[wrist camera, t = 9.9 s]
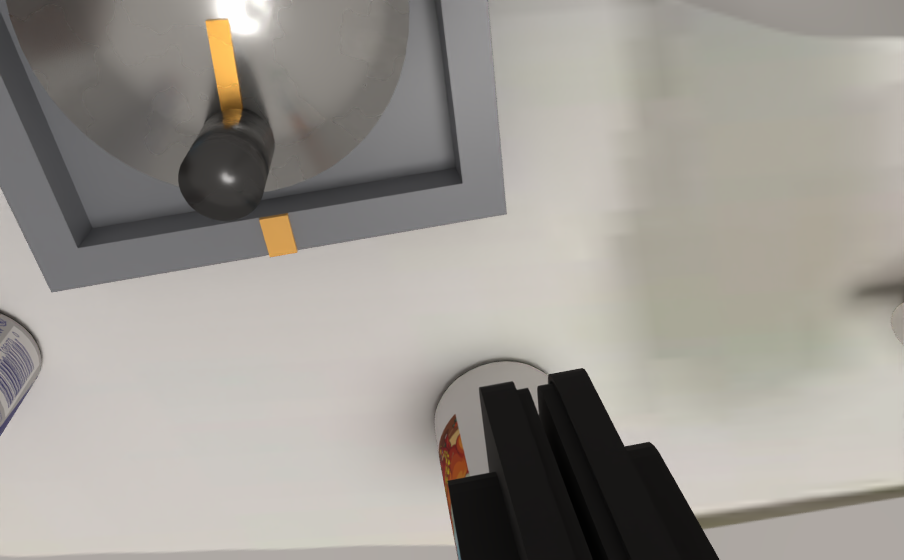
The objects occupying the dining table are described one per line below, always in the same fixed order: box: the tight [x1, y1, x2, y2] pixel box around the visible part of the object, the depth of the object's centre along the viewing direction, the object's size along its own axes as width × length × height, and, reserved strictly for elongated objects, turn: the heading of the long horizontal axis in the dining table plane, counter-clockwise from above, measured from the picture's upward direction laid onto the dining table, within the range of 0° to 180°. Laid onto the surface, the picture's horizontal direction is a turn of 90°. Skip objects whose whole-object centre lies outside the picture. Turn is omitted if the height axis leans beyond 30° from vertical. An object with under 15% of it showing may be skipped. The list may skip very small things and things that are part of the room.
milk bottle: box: [434, 361, 548, 560], centre depth 32 cm, size 8×8×20 cm
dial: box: [6, 0, 409, 221], centre depth 24 cm, size 14×14×6 cm
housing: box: [0, 0, 507, 292], centre depth 26 cm, size 20×20×3 cm
